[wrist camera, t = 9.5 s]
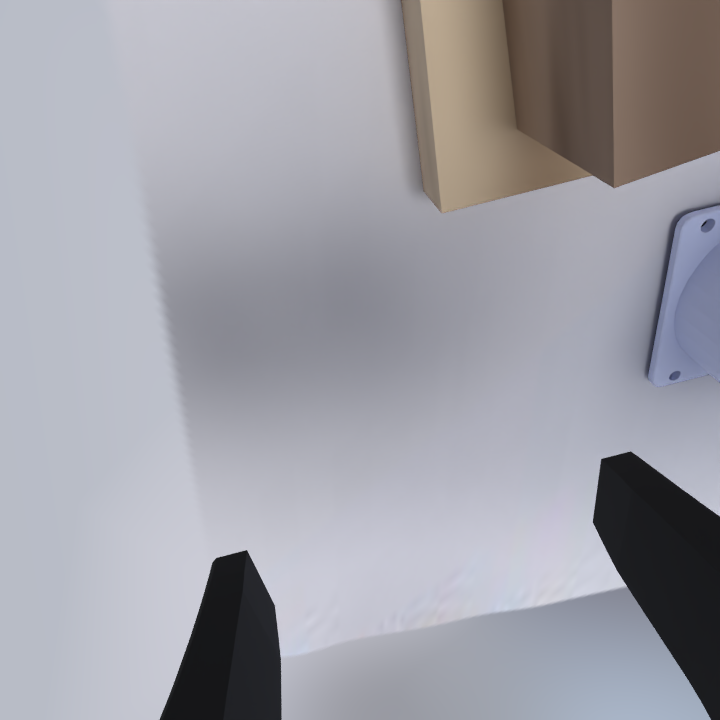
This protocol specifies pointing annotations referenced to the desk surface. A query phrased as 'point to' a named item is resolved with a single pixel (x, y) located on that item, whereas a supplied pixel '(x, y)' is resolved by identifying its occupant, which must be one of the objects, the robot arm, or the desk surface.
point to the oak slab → (470, 107)
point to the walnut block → (617, 81)
